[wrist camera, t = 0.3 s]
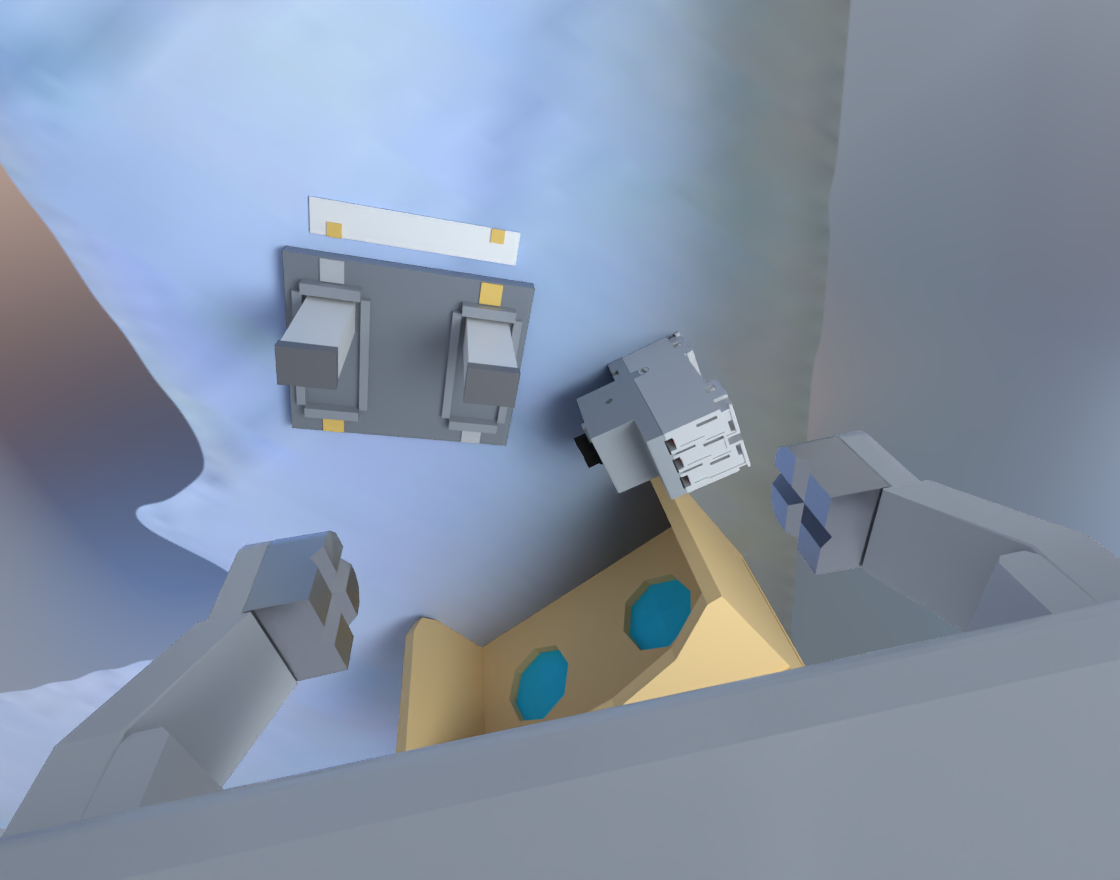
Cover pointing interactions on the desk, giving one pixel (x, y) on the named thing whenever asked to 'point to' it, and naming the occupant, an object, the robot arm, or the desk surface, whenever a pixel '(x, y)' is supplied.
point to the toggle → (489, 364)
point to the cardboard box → (602, 641)
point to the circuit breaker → (661, 422)
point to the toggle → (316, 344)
